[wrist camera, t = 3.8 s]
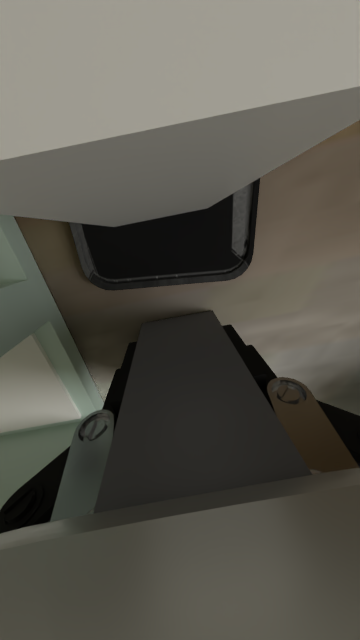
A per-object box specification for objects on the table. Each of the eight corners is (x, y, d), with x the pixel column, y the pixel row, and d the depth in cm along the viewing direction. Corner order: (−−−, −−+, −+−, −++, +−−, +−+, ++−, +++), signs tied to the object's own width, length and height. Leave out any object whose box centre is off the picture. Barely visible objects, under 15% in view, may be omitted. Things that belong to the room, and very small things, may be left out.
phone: (343, -742, 3) (251, 278, 9) (295, -478, 4) (242, 273, 10) (-234, -807, 2) (86, 292, 9) (-118, -503, 3) (94, 286, 10)
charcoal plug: (212, 310, 10) (318, 484, 3) (218, 366, 12) (295, 563, 5) (142, 323, 10) (90, 524, 3) (157, 377, 12) (145, 589, 5)
